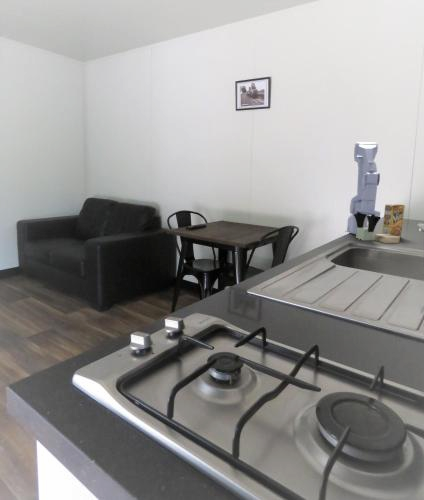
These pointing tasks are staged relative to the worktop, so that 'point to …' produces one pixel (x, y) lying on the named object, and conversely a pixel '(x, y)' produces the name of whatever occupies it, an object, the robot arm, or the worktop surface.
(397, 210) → the candy box
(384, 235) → the beech block
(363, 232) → the sage cube
